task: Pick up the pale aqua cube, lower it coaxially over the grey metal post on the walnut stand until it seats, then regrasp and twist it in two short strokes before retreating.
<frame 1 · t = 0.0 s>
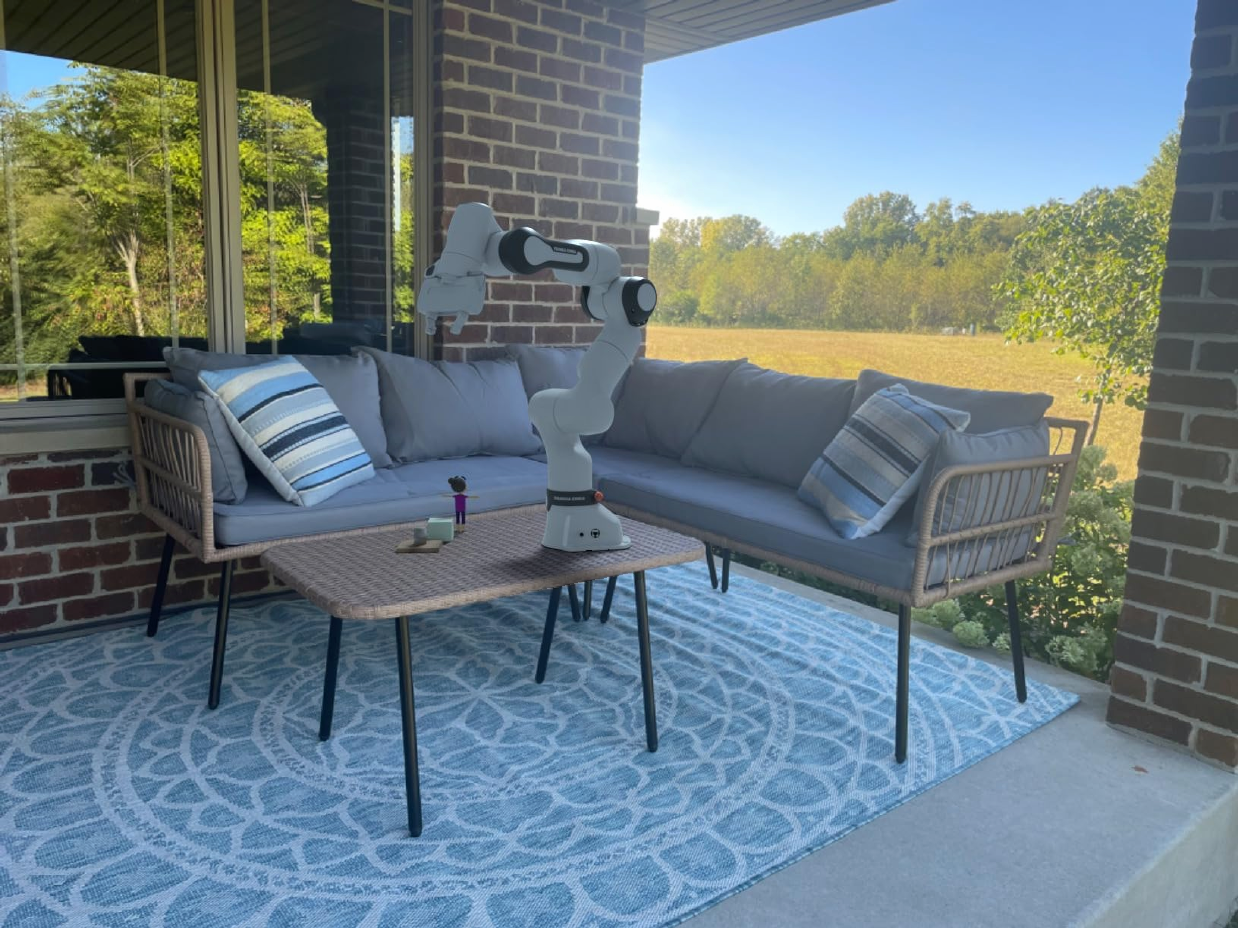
hand: (441, 333, 193), 52 cm above the table, tool tilted 20°, fingers open, 8 cm apart
toy: (459, 532, 240), on the table
pale aqua cube: (441, 538, 231), on the table
stand: (420, 547, 221), on the table
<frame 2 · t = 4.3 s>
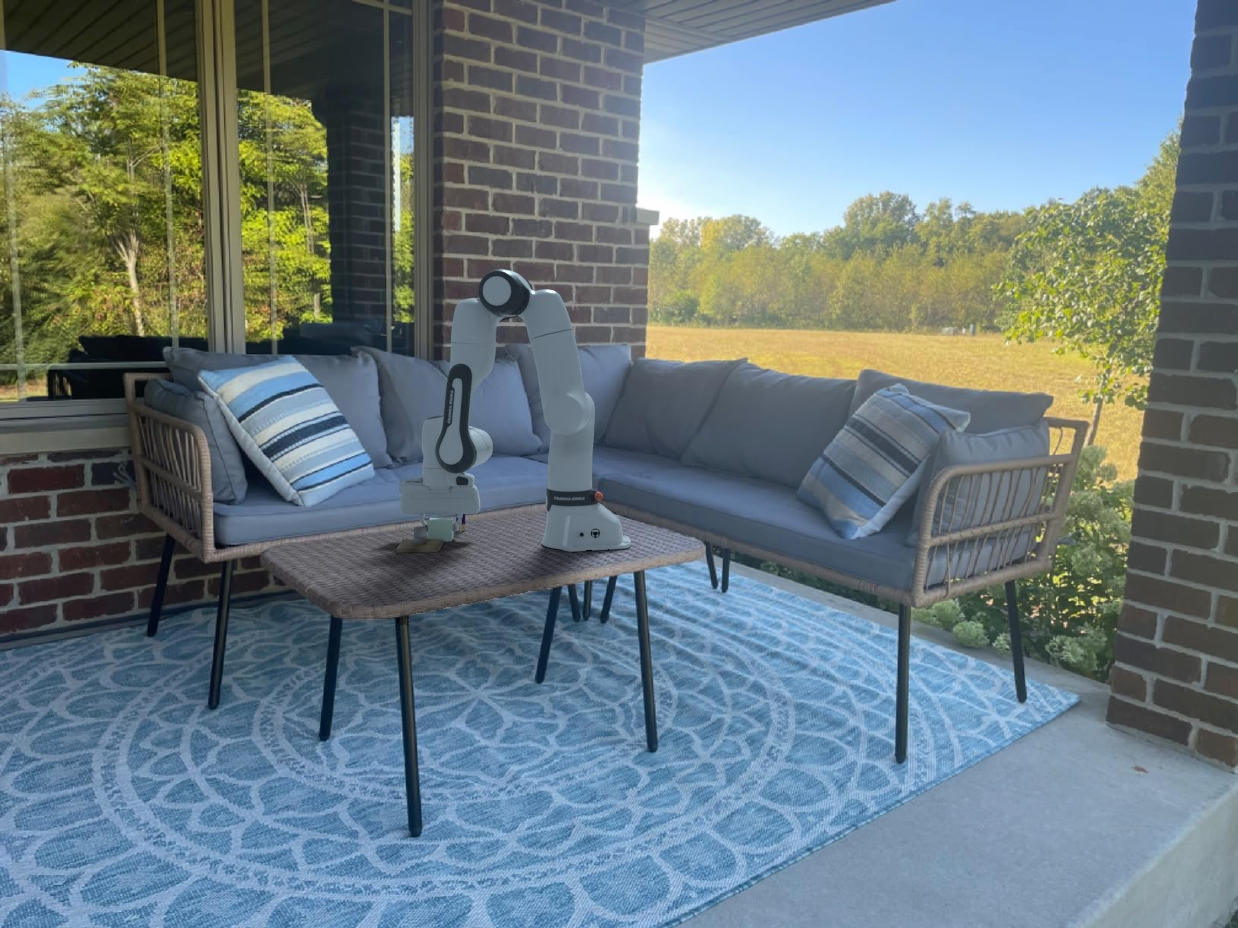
hand: (440, 530, 230), 2 cm above the table, tool pointing down, fingers closed on pale aqua cube, 6 cm apart
pale aqua cube: (441, 538, 231), on the table, touching gripper
everything else where it was.
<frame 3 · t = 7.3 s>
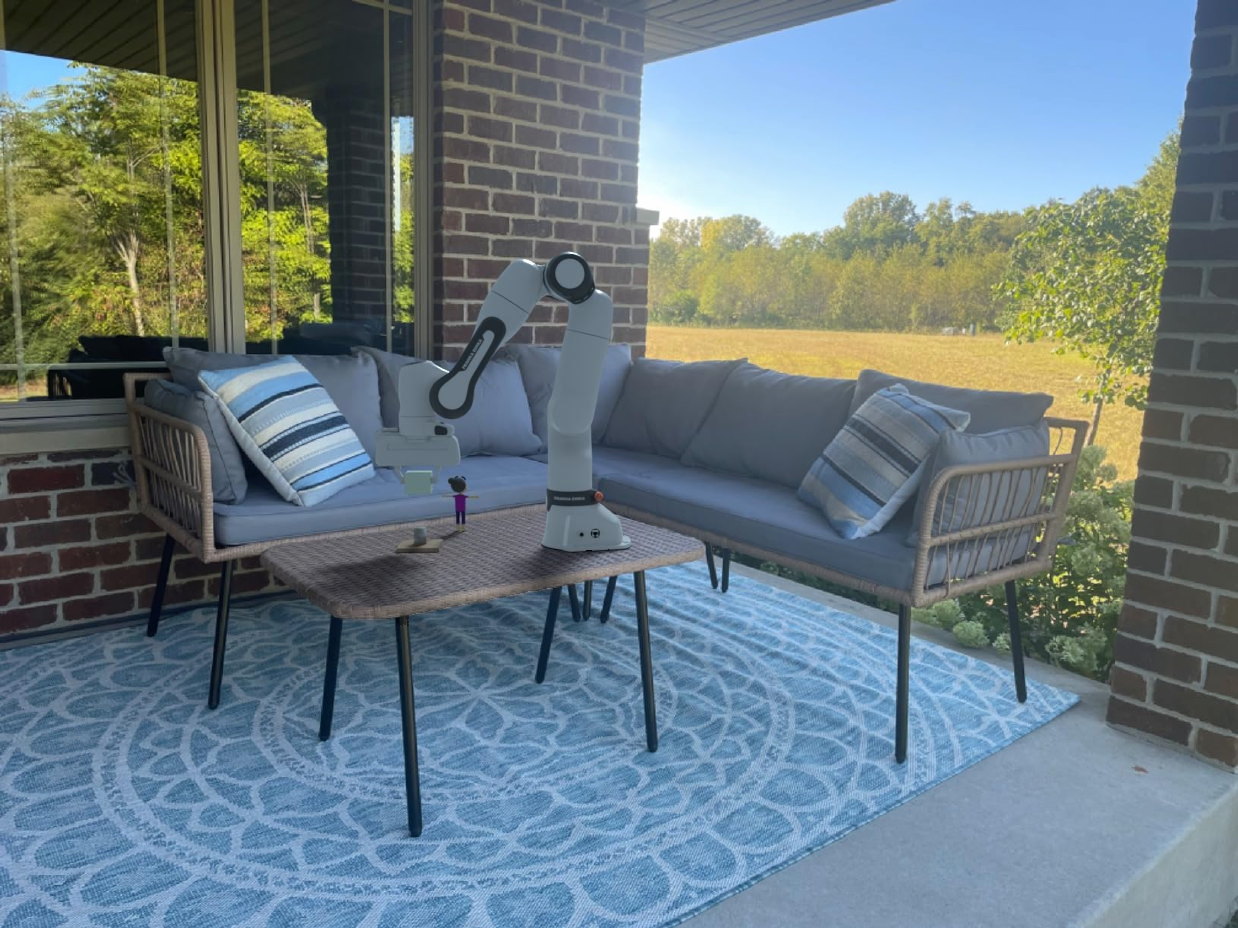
hand: (418, 484, 219), 16 cm above the table, tool pointing down, fingers closed on pale aqua cube, 6 cm apart
pale aqua cube: (418, 492, 219), point 14 cm above the table, touching gripper
everything else where it was.
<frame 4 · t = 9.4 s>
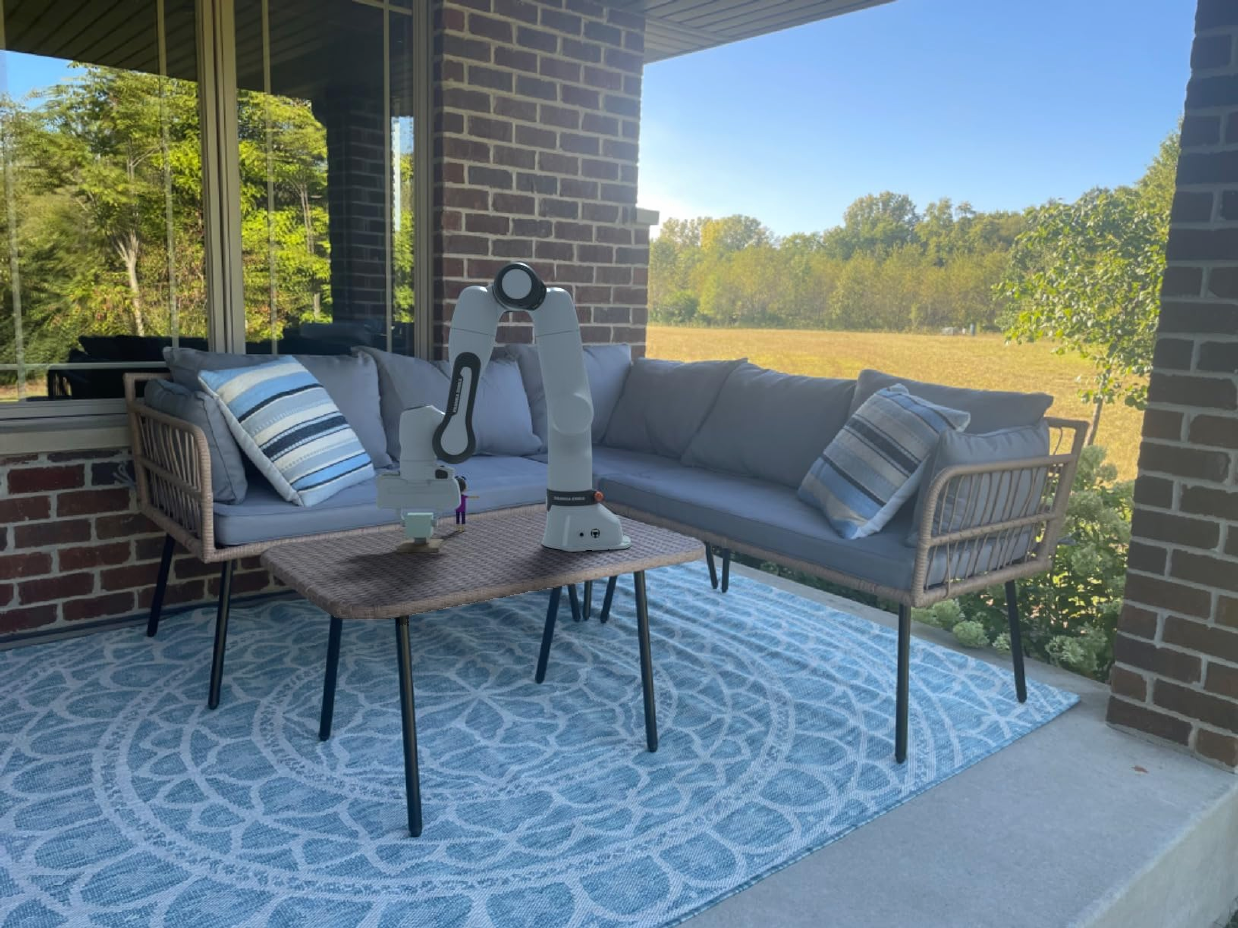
hand: (419, 526, 220), 5 cm above the table, tool pointing down, fingers closed on pale aqua cube, 6 cm apart
pale aqua cube: (419, 534, 220), point 3 cm above the table, touching gripper
everything else where it was.
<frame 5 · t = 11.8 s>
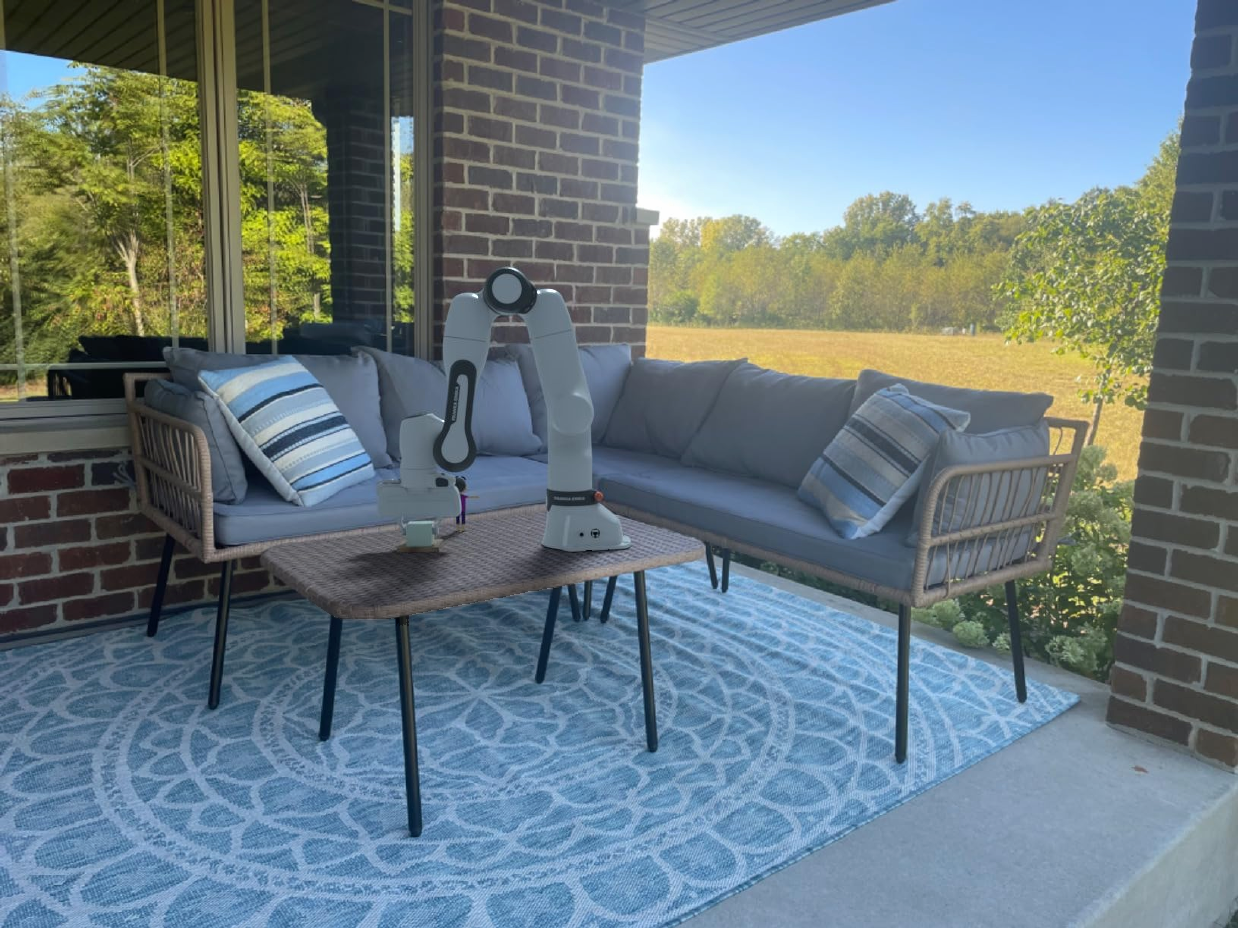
hand: (420, 534, 220), 3 cm above the table, tool pointing down, fingers closed on pale aqua cube, 6 cm apart
pale aqua cube: (420, 543, 220), point 1 cm above the table, touching gripper, stand
everything else where it was.
when the fingers open (4 cm above the table, at t = 13.1 s): pale aqua cube stays where it is, point 1 cm above the table.
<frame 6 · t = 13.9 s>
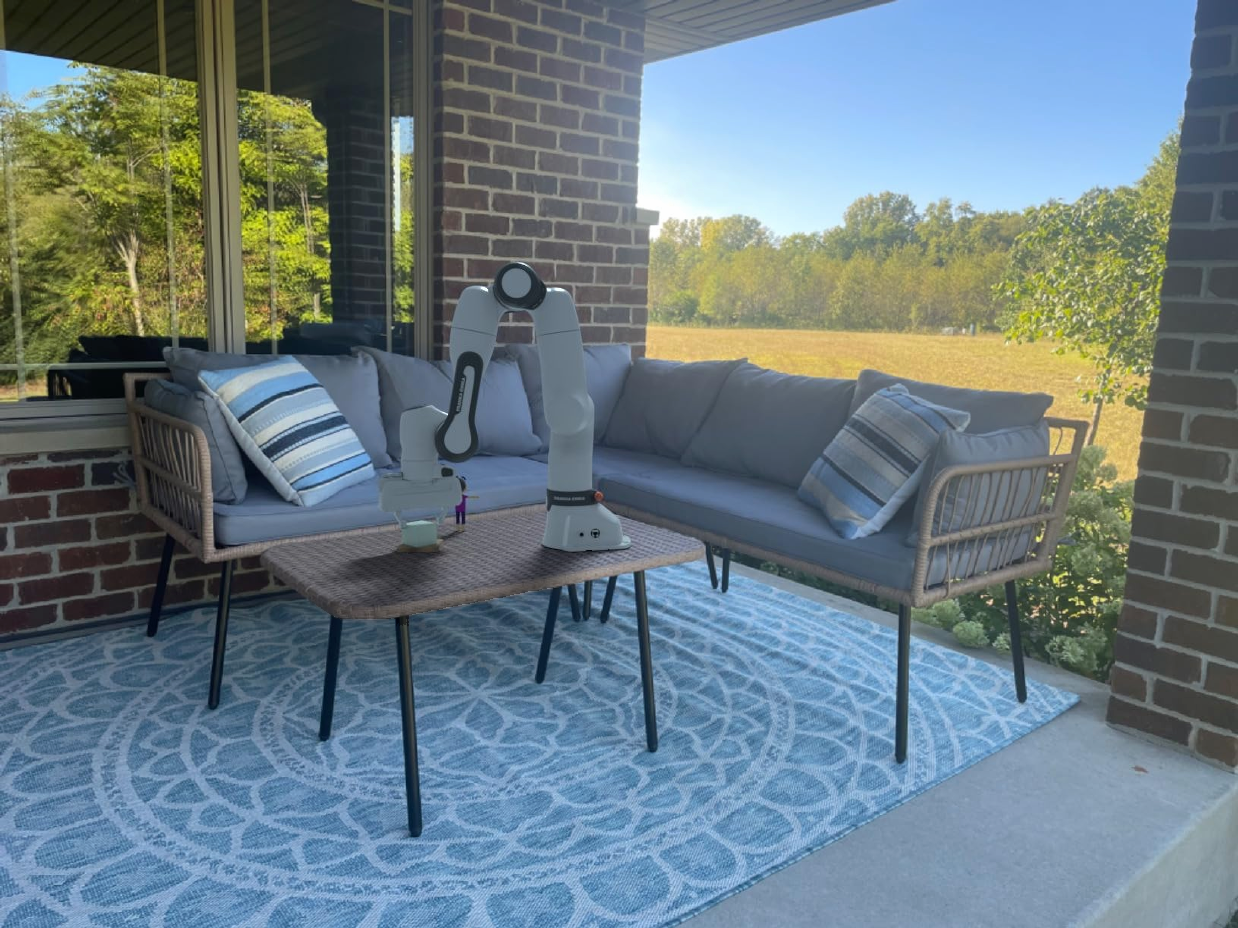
hand: (421, 526, 220), 5 cm above the table, tool pointing down, fingers open, 8 cm apart
pale aqua cube: (419, 543, 221), point 1 cm above the table, touching gripper
everything else where it was.
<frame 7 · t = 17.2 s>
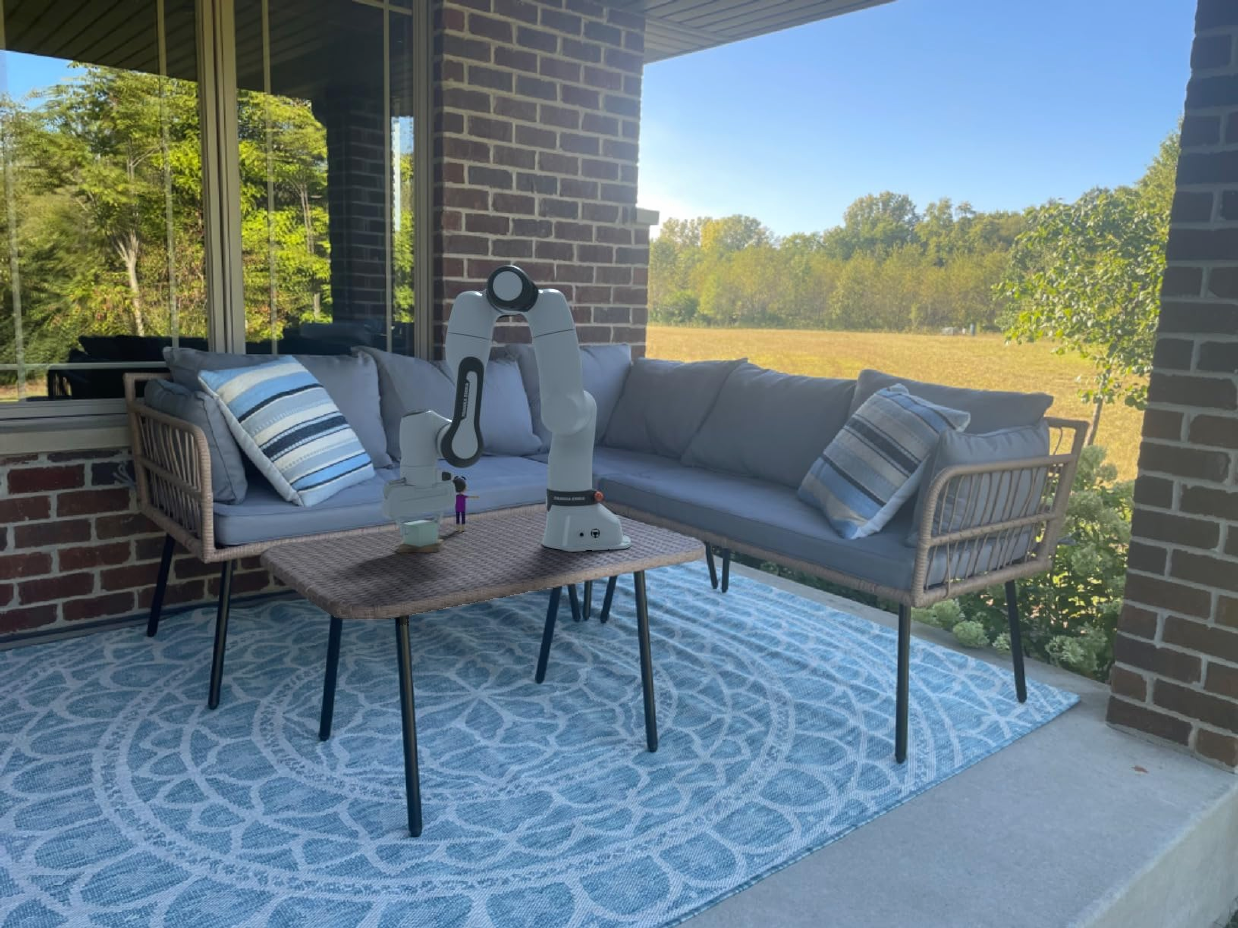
hand: (420, 531, 220), 4 cm above the table, tool pointing down, fingers open, 8 cm apart
pale aqua cube: (420, 542, 221), point 1 cm above the table, touching stand
everything else where it was.
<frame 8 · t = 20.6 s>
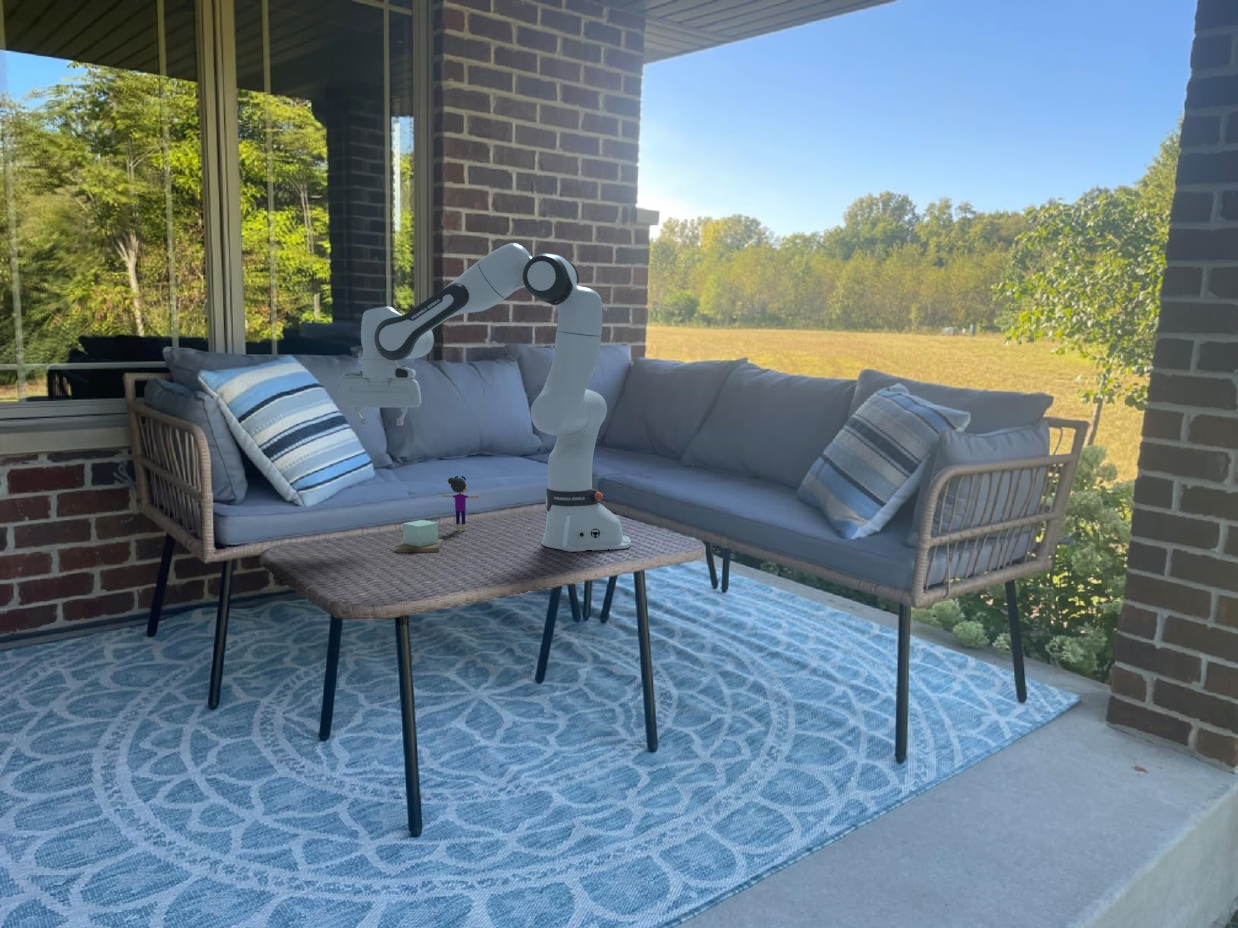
hand: (381, 425, 230), 29 cm above the table, tool pointing down, fingers open, 8 cm apart
nothing on the table moved.
at the end: pale aqua cube 0.8 cm from the stand (horizontally); pale aqua cube point 1.0 cm above the table; pale aqua cube tilted 0° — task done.
